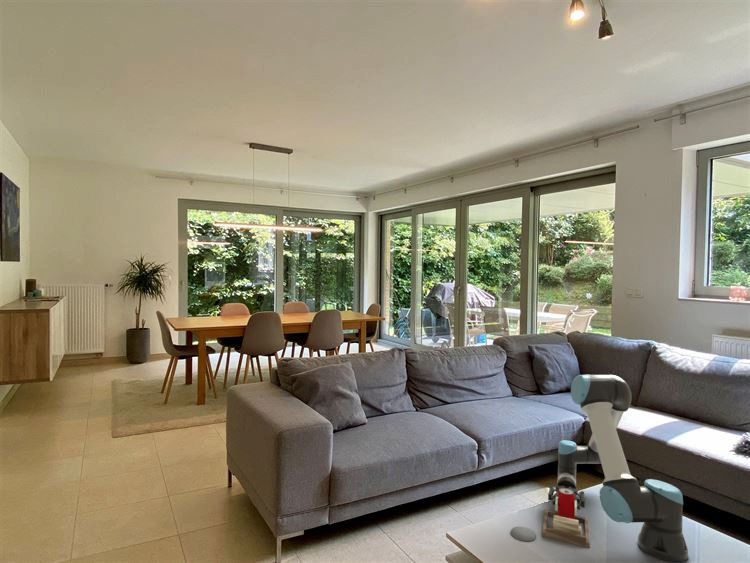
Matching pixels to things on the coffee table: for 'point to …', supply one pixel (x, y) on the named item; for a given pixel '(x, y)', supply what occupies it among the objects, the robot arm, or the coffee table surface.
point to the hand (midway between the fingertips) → (566, 509)
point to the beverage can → (566, 503)
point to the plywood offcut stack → (566, 525)
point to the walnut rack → (566, 535)
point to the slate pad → (523, 534)
